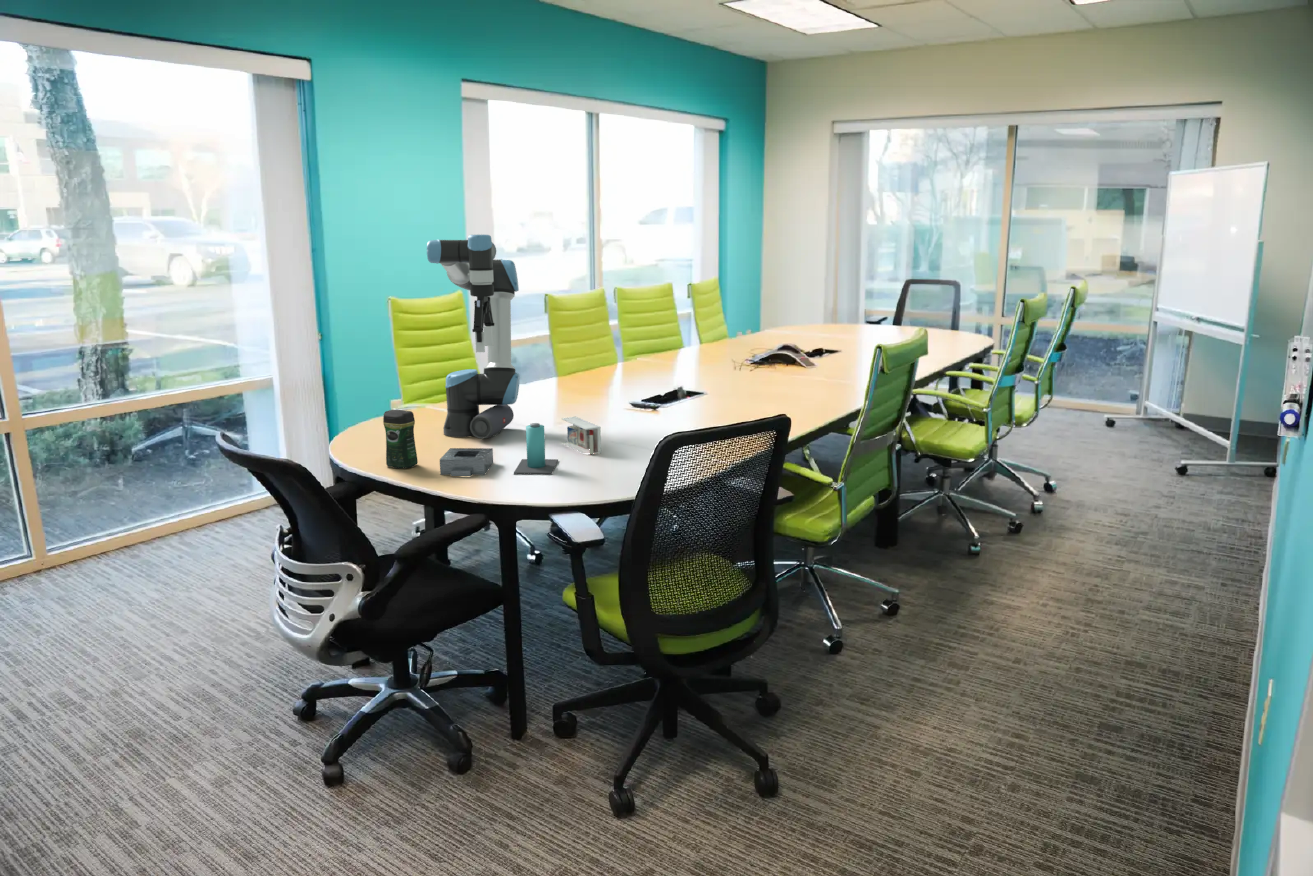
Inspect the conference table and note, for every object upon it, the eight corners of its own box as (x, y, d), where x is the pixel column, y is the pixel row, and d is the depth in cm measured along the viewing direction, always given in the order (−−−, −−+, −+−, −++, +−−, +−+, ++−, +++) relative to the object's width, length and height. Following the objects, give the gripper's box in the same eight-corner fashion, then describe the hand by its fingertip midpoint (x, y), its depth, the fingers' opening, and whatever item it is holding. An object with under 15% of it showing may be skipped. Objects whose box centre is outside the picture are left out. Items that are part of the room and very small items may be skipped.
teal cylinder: (528, 463, 302) (527, 422, 298) (546, 463, 302) (545, 422, 298) (526, 468, 296) (524, 426, 293) (544, 468, 296) (542, 426, 293)
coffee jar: (422, 464, 302) (418, 409, 298) (406, 470, 295) (402, 413, 291) (398, 461, 306) (394, 406, 302) (382, 467, 299) (378, 411, 295)
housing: (452, 460, 307) (451, 446, 306) (494, 461, 306) (494, 446, 305) (438, 476, 288) (437, 461, 287) (483, 477, 288) (482, 461, 287)
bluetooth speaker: (493, 443, 330) (492, 415, 328) (468, 440, 332) (468, 413, 330) (515, 428, 352) (515, 403, 349) (492, 426, 354) (492, 401, 351)
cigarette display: (562, 443, 329) (561, 418, 327) (576, 441, 332) (575, 416, 330) (588, 456, 313) (587, 429, 311) (602, 454, 316) (602, 427, 313)
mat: (522, 460, 307) (522, 459, 307) (558, 461, 307) (558, 459, 306) (513, 474, 291) (513, 472, 291) (551, 474, 291) (551, 472, 291)
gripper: (478, 280, 310) (480, 343, 315) (461, 286, 286) (465, 354, 291) (500, 280, 310) (502, 343, 315) (485, 286, 286) (488, 354, 291)
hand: (484, 349), depth 303 cm, fingers open, 13 cm apart
